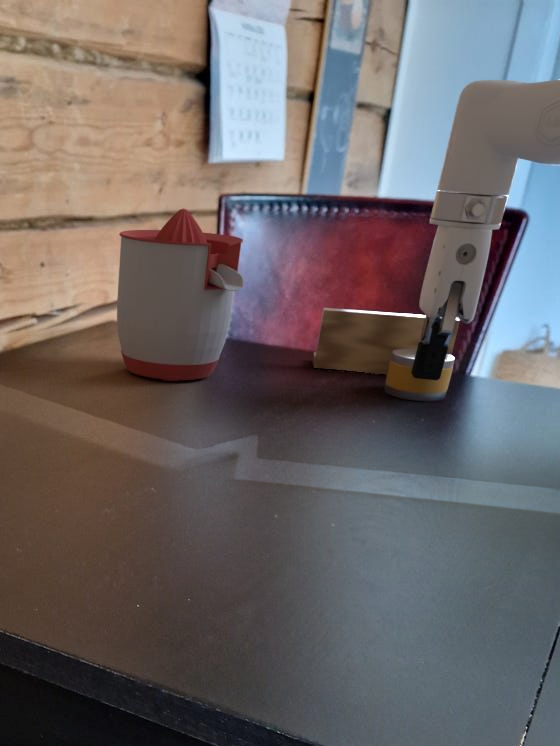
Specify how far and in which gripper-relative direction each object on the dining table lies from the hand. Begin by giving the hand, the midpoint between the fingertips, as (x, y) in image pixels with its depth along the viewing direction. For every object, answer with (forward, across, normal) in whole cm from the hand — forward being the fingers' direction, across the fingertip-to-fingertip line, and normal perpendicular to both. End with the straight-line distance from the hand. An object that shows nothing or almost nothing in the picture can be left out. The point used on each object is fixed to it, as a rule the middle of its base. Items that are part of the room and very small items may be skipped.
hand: (425, 377), depth 105 cm
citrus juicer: (+4, +5, +31) cm, 32 cm away
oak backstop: (+4, +19, +3) cm, 19 cm away
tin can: (+3, +6, 0) cm, 6 cm away
